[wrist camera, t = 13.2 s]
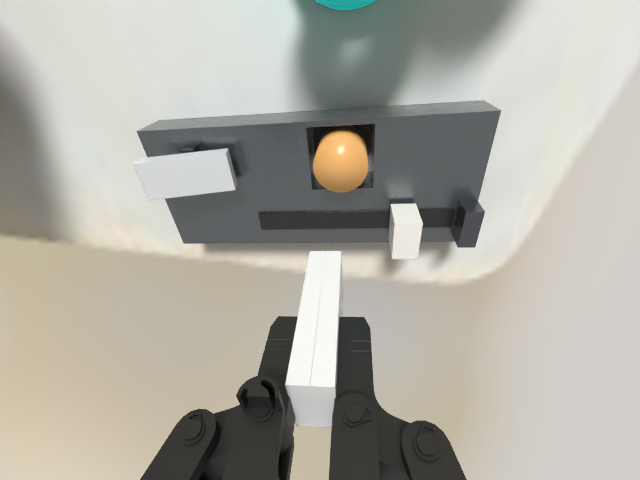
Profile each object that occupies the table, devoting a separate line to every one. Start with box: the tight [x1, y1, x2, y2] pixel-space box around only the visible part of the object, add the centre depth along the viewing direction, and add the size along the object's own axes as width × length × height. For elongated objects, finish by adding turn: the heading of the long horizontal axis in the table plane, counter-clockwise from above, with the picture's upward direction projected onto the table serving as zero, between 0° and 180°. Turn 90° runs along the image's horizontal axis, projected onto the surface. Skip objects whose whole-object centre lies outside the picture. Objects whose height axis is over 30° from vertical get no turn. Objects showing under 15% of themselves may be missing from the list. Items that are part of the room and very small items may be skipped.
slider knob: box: [388, 203, 423, 259], centre depth 29 cm, size 2×4×4 cm, turn 4°
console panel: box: [137, 100, 501, 247], centre depth 30 cm, size 32×13×6 cm, turn 94°
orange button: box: [313, 125, 368, 193], centre depth 28 cm, size 5×5×5 cm
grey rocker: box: [132, 148, 237, 200], centre depth 27 cm, size 8×4×2 cm, turn 95°
